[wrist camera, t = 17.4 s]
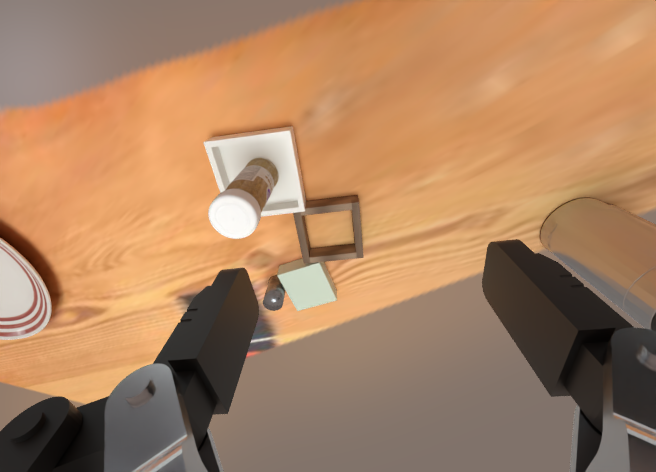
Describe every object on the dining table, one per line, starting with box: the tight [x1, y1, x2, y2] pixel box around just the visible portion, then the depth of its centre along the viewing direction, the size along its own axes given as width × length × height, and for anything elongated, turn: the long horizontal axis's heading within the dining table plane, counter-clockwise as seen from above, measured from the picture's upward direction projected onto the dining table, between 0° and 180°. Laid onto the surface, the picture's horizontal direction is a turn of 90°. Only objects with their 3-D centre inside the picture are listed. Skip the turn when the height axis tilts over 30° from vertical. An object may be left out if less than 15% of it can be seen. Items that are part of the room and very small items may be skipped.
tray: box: [203, 126, 306, 216], centre depth 37 cm, size 10×10×3 cm
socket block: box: [293, 195, 363, 264], centre depth 42 cm, size 9×9×2 cm
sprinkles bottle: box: [209, 158, 279, 239], centre depth 32 cm, size 5×5×14 cm
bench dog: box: [263, 275, 285, 311], centre depth 46 cm, size 3×3×5 cm
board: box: [277, 258, 337, 311], centre depth 47 cm, size 7×8×3 cm
